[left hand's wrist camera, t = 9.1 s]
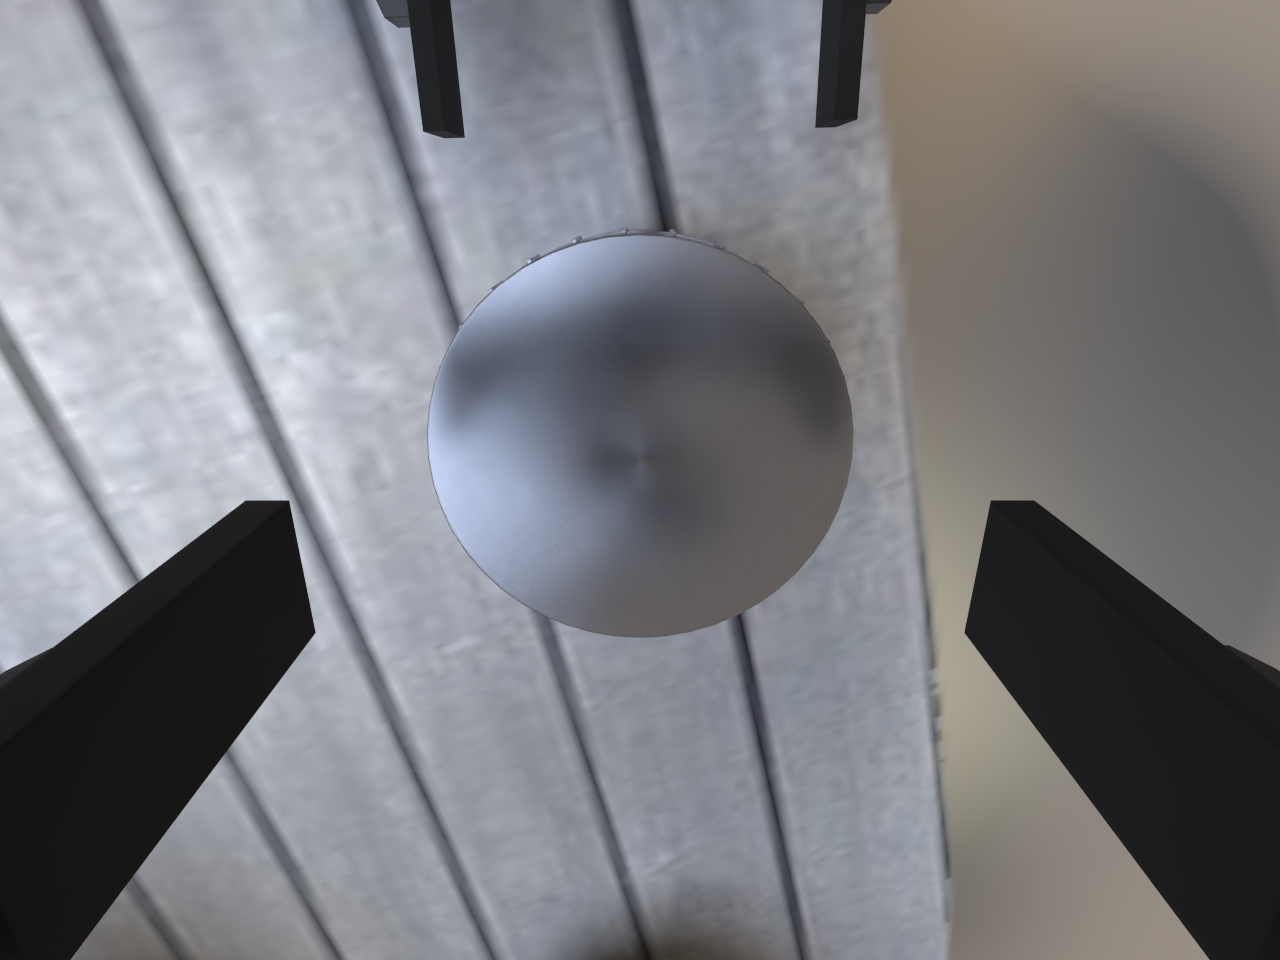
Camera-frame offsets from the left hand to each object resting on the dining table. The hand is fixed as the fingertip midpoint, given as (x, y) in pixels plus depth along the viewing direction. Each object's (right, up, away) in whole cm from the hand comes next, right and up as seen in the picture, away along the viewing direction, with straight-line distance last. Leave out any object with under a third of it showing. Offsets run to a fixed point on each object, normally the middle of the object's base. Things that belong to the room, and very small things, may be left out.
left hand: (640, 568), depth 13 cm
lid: (0, +2, +6) cm, 6 cm away
